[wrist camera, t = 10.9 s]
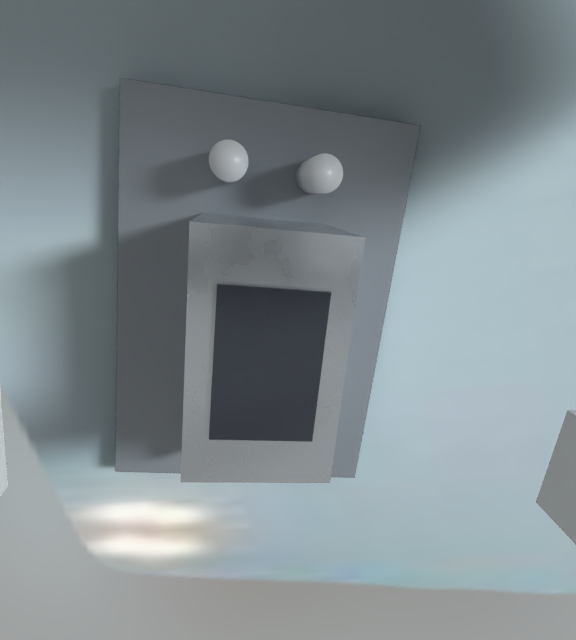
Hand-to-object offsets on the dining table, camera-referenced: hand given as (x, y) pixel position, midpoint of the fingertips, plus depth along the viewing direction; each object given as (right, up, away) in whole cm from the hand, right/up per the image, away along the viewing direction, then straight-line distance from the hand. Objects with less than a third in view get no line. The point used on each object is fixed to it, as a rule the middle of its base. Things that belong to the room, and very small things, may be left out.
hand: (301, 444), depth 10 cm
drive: (-2, +3, +12) cm, 13 cm away
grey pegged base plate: (-2, +4, +13) cm, 14 cm away
